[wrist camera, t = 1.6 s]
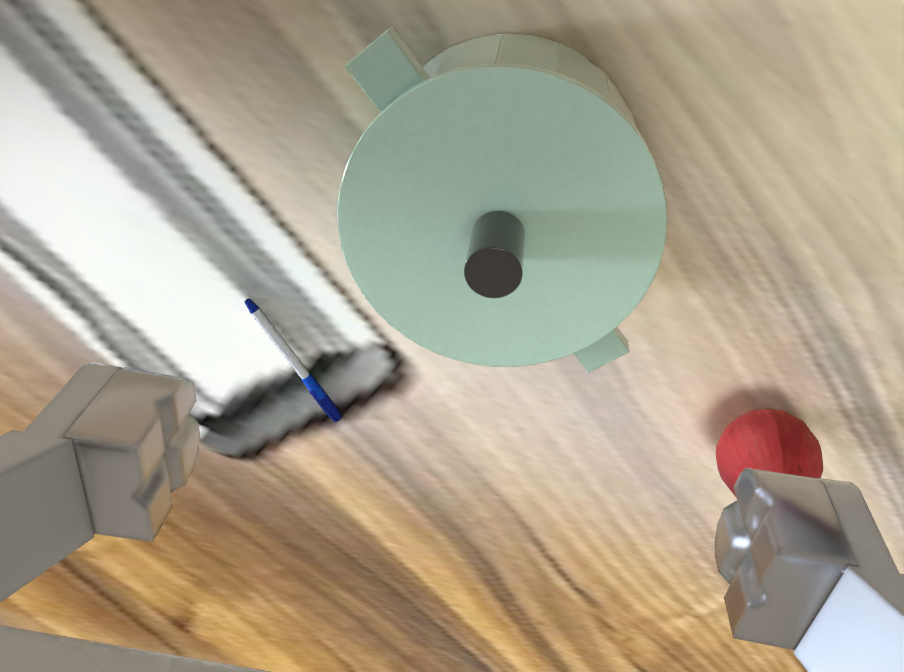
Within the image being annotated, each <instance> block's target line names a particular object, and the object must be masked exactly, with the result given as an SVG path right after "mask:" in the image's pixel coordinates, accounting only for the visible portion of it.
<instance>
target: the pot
mask: <svg viewBox="0 0 904 672" xmlns="http://www.w3.org/2000/svg"><path fill="white" fill-rule="evenodd" d="M494 63H510V64H520V65H530V66H534V67H538V68H543V69H547V70H551V71H554V72H557V73H560V74H562V75H565V76H567V77H570V78H573V79H575V80H577V81H579V82H581V83H582V84H584V85H586V86H588V87H590V88H591V89H593V90H595V91H596V92H598V93H599V94H600V95H602V96H603V97H605V98H606V99H607V100H609V101H610V102H611V103H613V104H614V105H615V106H616V107H617V108H618V109H619V110H620V111H621V112H622V113H623V114H624V115H625V116H626V117H627V118H628V119H629V120H630V121H631V123H632V124H633V125H634V127H635V128H636V129H637V126H636V122H635V119H634V116H633V114H632V113H631V111H630V110H629V108H628V107H627V105H626V103H625V101H624V100H623V98H622V96H621V94H620V92H619V91H618V89H617V88H616V87H615V85H614V84H613V83H612V81H611V80H610V78H609V77H608V75H607V74H606V73H605V72H604V71H603V70H601V69H600V68H599V67H598V66H597V65H595V64H594V63H593V62H591V61H590V60H589V59H587V58H586V57H585V56H583V55H582V54H580V53H578V52H576V51H575V50H573V49H571V48H569V47H567V46H565V45H563V44H561V43H558V42H555V41H552V40H550V39H546V38H542V37H537V36H533V35H525V34H514V33H511V34H505V33H504V34H503V33H501V34H493V35H488V36H482V37H477V38H474V39H471V40H468V41H465V42H462V43H459V44H457V45H454V46H450V47H449V48H447V49H446V50H444V51H443V52H441V53H440V54H438V55H437V56H436V57H434V58H433V59H431V60H430V61H428V62H427V63H426V64H425V65H424V66H423V67H422V66H421V65H420V63H419V62H418V61H417V59H416V58H415V57H414V55H413V54H412V53H411V51H410V50H409V49H408V47H407V46H406V45H405V43H404V42H403V41H402V39H401V38H400V37H399V35H398V34H397V33H396V31H395V30H394V29H393V27H392V26H390V27H389V28H388V29H386V30H385V31H384V32H383V33H382V34H380V35H379V36H378V37H377V38H376V39H374V40H373V41H372V42H371V43H370V44H368V45H367V46H366V47H365V48H364V49H362V50H361V51H360V52H359V53H358V54H356V55H355V56H354V57H353V58H352V59H350V61H349V62H348V63H347V64H346V65H345V68H346V69H347V70H348V71H349V73H350V74H351V75H352V76H353V78H354V79H355V80H356V81H357V83H358V84H359V85H360V86H361V88H362V89H363V90H364V91H365V93H366V94H367V95H368V96H369V98H370V99H371V100H372V101H373V103H374V104H375V105H376V106H377V108H378V109H379V110H380V111H382V110H383V109H384V108H385V107H387V106H388V105H389V104H390V103H391V102H392V101H393V100H394V99H395V98H397V97H398V96H400V95H401V94H403V93H404V92H406V91H407V90H409V89H410V88H412V87H413V86H415V85H417V84H419V83H421V82H423V81H425V80H427V79H429V78H431V77H433V76H435V75H438V74H441V73H444V72H447V71H451V70H454V69H457V68H462V67H467V66H473V65H478V64H494ZM637 131H638V129H637ZM628 352H629V346H628V340H627V339H626V338H625V336H624V335H623V334H622V332H621V331H620V330H619V328H618V327H616V328H614V329H613V330H612V331H610V332H609V333H608V334H607V335H605V336H604V337H603V338H601V339H599V340H598V341H596V342H594V343H593V344H591V345H589V346H588V347H586V348H584V349H582V350H579V351H577V352H575V353H574V355H575V356H576V357H577V358H578V360H579V361H580V362H581V363H582V365H583V366H584V367H585V368H586V370H587V371H588V372H591V371H593V370H595V369H597V368H599V367H601V366H603V365H605V364H607V363H609V362H611V361H613V360H615V359H616V358H618V357H620V356H622V355H624V354H626V353H628Z"/></svg>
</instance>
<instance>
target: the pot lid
mask: <svg viewBox="0 0 904 672" xmlns="http://www.w3.org/2000/svg"><path fill="white" fill-rule="evenodd" d="M338 229H339V235H340V241H341V247H342V250H343V253H344V256H345V259H346V263H347V265H348V267H349V270H350V272H351V274H352V276H353V278H354V280H355V282H356V284H357V285H358V287H359V289H360V290H361V292H362V293H363V295H364V297H365V298H366V299H367V300H368V302H369V303H370V304H371V305H372V307H373V308H374V309H375V310H376V312H377V313H378V314H379V315H380V316H382V317H383V318H384V319H385V320H386V321H387V322H388V323H389V324H390V325H391V326H392V327H394V328H395V329H396V330H397V331H399V332H400V333H401V334H403V335H404V336H405V337H407V338H409V339H410V340H412V341H414V342H415V343H417V344H419V345H420V346H422V347H424V348H426V349H429V350H431V351H433V352H435V353H437V354H440V355H443V356H446V357H448V358H451V359H454V360H458V361H462V362H467V363H471V364H476V365H485V366H493V367H516V366H526V365H534V364H539V363H544V362H549V361H553V360H556V359H559V358H562V357H565V356H568V355H570V354H573V353H575V352H577V351H579V350H582V349H584V348H586V347H588V346H589V345H591V344H593V343H594V342H596V341H598V340H599V339H601V338H603V337H604V336H605V335H607V334H608V333H609V332H610V331H612V330H613V329H614V328H616V327H617V326H618V325H619V324H620V323H621V322H622V321H623V320H624V319H625V318H626V317H627V316H628V315H629V314H630V313H631V312H632V311H633V310H634V308H635V307H636V306H637V304H638V303H639V302H640V301H641V299H642V298H643V297H644V295H645V293H646V291H647V290H648V288H649V286H650V285H651V283H652V281H653V279H654V277H655V274H656V272H657V269H658V267H659V264H660V262H661V258H662V254H663V250H664V246H665V241H666V231H667V206H666V198H665V193H664V188H663V183H662V179H661V176H660V174H659V171H658V168H657V165H656V163H655V160H654V157H653V155H652V153H651V152H650V150H649V148H648V146H647V144H646V142H645V141H644V139H643V137H642V136H641V135H640V133H639V132H638V131H637V129H636V128H635V127H634V125H633V124H632V123H631V121H630V120H629V119H628V118H627V117H626V116H625V115H624V114H623V113H622V112H621V111H620V110H619V109H618V108H617V107H616V106H615V105H614V104H613V103H611V102H610V101H609V100H607V99H606V98H605V97H603V96H602V95H600V94H599V93H598V92H596V91H595V90H593V89H591V88H590V87H588V86H586V85H584V84H582V83H581V82H579V81H577V80H575V79H573V78H570V77H567V76H565V75H562V74H560V73H557V72H554V71H551V70H547V69H543V68H538V67H534V66H530V65H520V64H510V63H494V64H478V65H473V66H467V67H462V68H457V69H454V70H451V71H447V72H444V73H441V74H438V75H435V76H433V77H431V78H429V79H427V80H425V81H423V82H421V83H419V84H417V85H415V86H413V87H412V88H410V89H409V90H407V91H406V92H404V93H403V94H401V95H400V96H398V97H397V98H395V99H394V100H393V101H392V102H391V103H390V104H389V105H388V106H387V107H385V108H384V109H383V110H382V111H381V112H380V113H379V114H378V115H377V117H376V118H375V119H374V120H373V121H372V123H371V124H370V125H369V126H368V127H367V129H366V130H365V132H364V133H363V135H362V137H361V138H360V140H359V142H358V143H357V145H356V146H355V148H354V150H353V152H352V154H351V156H350V159H349V161H348V163H347V166H346V168H345V171H344V175H343V179H342V182H341V186H340V192H339V200H338Z"/></svg>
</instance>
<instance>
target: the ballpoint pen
mask: <svg viewBox="0 0 904 672" xmlns="http://www.w3.org/2000/svg"><path fill="white" fill-rule="evenodd" d="M245 304H246V306H247V308H248V309H249V311H250V313H251V314H252V316H253V317H254V318H255V320H256V321H257V322H258V323H259V325H260V326H261V327H262V329H263V330H264V331H265V332H266V334H267V335H268V336H269V337H270V339H271V340H272V341H273V343H274V344H275V345H276V346H277V348H278V349H279V350H280V352H281V353H282V354H283V355H284V357H285V358H286V359H287V361H288V362H289V363H290V364H291V366H292V367H293V368H294V369H295V371H296V372H297V373H298V375H299V376H300V377H301V379H302V381H303V382H304V384H305V385H306V386H307V388H308V389H309V390H310V393H311V395H312V396H313V397H314V399H315V400H316V401H317V403H318V404H319V405H320V407H321V408H322V409H323V410H324V412H325V413H326V414H327V415H328V416H329V417H330V418H331V419H332V420H333V421H334V422H337V421H339V420H341V418H342V415H341V414H340V412H339V410H338V409H337V407H336V406H335V404H334V403H333V402H332V400H331V399H330V398H329V397H328V395H327V394H325V391H324V390H323V389H322V387H321V386H320V385H319V384H318V383H317V381H315V378H314V377H313V376H312V374H310V373H309V372H308V371H307V370H306V368H305V367H304V366H303V364H302V363H301V362H300V361H299V359H298V358H297V357H296V355H295V354H294V353H293V351H292V350H291V349H290V348H289V346H288V345H287V344H286V342H285V341H284V340H283V338H282V337H281V336H280V335H279V333H278V332H277V331H276V329H275V328H274V327H273V326H272V324H271V323H270V322H269V320H268V319H267V318H266V316H265V315H264V314H263V313H262V311H261V310H260V309H259V307H258V306H256V305H255V304H254V303H253V302H252V301H251V300H250V299H247V300H246V301H245Z"/></svg>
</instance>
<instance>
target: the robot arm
mask: <svg viewBox="0 0 904 672" xmlns="http://www.w3.org/2000/svg"><path fill="white" fill-rule="evenodd" d="M195 402H196V395H195V389H194V383H193V382H191V381H190V380H189V379H186V378H180V377H175V376H169V375H164V374H158V373H153V372H147V371H142V370H136V369H131V368H126V367H124V368H121V367H117V366H111V365H106V364H100V363H95V362H91V363H88V364H85V365H83V366H82V367H81V368H80V369H79V370H78V371H77V372H76V373H75V374H74V375H73V377H72V378H71V379H70V380H69V381H68V382H67V383H66V384H65V386H64V387H63V388H62V389H61V390H60V391H59V392H58V393H57V395H56V396H55V397H54V398H53V399H52V400H51V401H50V402H49V404H48V405H47V406H46V407H45V408H44V409H43V410H42V411H41V413H40V414H39V415H38V416H37V417H36V418H35V419H34V420H33V422H32V423H31V424H30V425H29V426H28V427H27V428H26V429H25V431H24V432H22V431H15V430H13V431H10V432H8V433H6V434H3V435H1V436H0V602H2V601H3V600H5V599H6V598H8V597H9V596H10V595H12V594H13V593H15V592H16V591H18V590H19V589H20V588H22V587H23V586H25V585H26V584H28V583H29V582H30V581H32V580H33V579H35V578H36V577H38V576H39V575H41V574H42V573H43V572H45V571H46V570H48V569H49V568H51V567H52V566H53V565H55V564H56V563H58V562H59V561H61V560H62V559H63V558H65V557H66V556H68V555H69V554H71V553H72V552H74V551H75V550H76V549H78V548H79V547H81V546H82V545H84V544H85V543H86V542H88V541H89V540H91V539H92V538H94V534H100V535H108V536H115V537H122V538H129V539H137V540H144V541H151V542H153V541H154V539H155V537H156V535H157V534H158V532H159V530H160V528H161V527H162V525H163V523H164V521H165V520H166V518H167V516H168V514H169V513H170V511H171V509H172V507H173V505H172V498H171V492H173V491H175V490H177V489H178V488H180V487H182V486H184V485H185V484H186V482H187V481H188V479H189V477H190V475H191V473H192V471H193V469H194V466H195V462H196V459H197V455H198V452H199V442H200V431H199V423H198V422H197V421H196V420H195V419H194V418H193V416H192V415H191V414H190V413H189V412H190V410H191V409H192V407H193V405H194V404H195ZM734 490H735V494H736V497H737V501H735V502H734V503H732V504H730V505H729V506H727V507H725V508H724V509H723V512H722V514H721V517H720V519H719V522H718V524H717V530H716V537H715V558H716V563H717V568H718V572H719V573H720V574H721V575H722V576H723V577H724V578H725V579H726V580H727V582H728V583H729V584H730V586H729V589H728V591H727V593H726V595H725V597H724V600H725V604H726V608H727V613H728V617H729V622H730V626H731V630H732V635H733V638H735V639H740V640H745V641H750V642H755V643H761V644H766V645H771V646H776V647H781V648H786V649H792V650H795V651H794V654H795V655H796V657H797V658H798V659H799V661H800V662H801V663H802V664H803V666H804V667H805V668H806V670H807V671H808V672H904V575H903V574H899V572H898V569H897V567H896V565H895V563H894V561H893V559H892V557H891V555H890V552H889V550H888V548H887V546H886V544H885V542H884V540H883V538H882V536H881V533H880V531H879V529H878V527H877V525H876V523H875V521H874V519H873V517H872V514H871V512H870V510H869V508H868V506H867V504H866V502H865V500H864V497H863V495H862V493H861V491H860V489H859V488H858V487H857V486H856V485H855V484H853V483H851V482H844V481H836V480H829V479H822V478H811V477H804V476H798V475H791V474H784V473H778V472H771V471H765V470H758V469H752V468H745V469H744V470H743V471H742V472H741V473H740V475H739V477H738V479H737V481H736V483H735V485H734ZM0 672H270V671H264V670H259V669H253V668H247V667H241V666H235V665H229V664H224V663H218V662H212V661H206V660H200V659H195V658H189V657H183V656H177V655H171V654H165V653H160V652H154V651H148V650H142V649H136V648H130V647H124V646H119V645H113V644H107V643H101V642H95V641H89V640H83V639H77V638H72V637H66V636H60V635H54V634H48V633H42V632H36V631H31V630H25V629H19V628H13V627H7V626H1V625H0Z"/></svg>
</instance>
